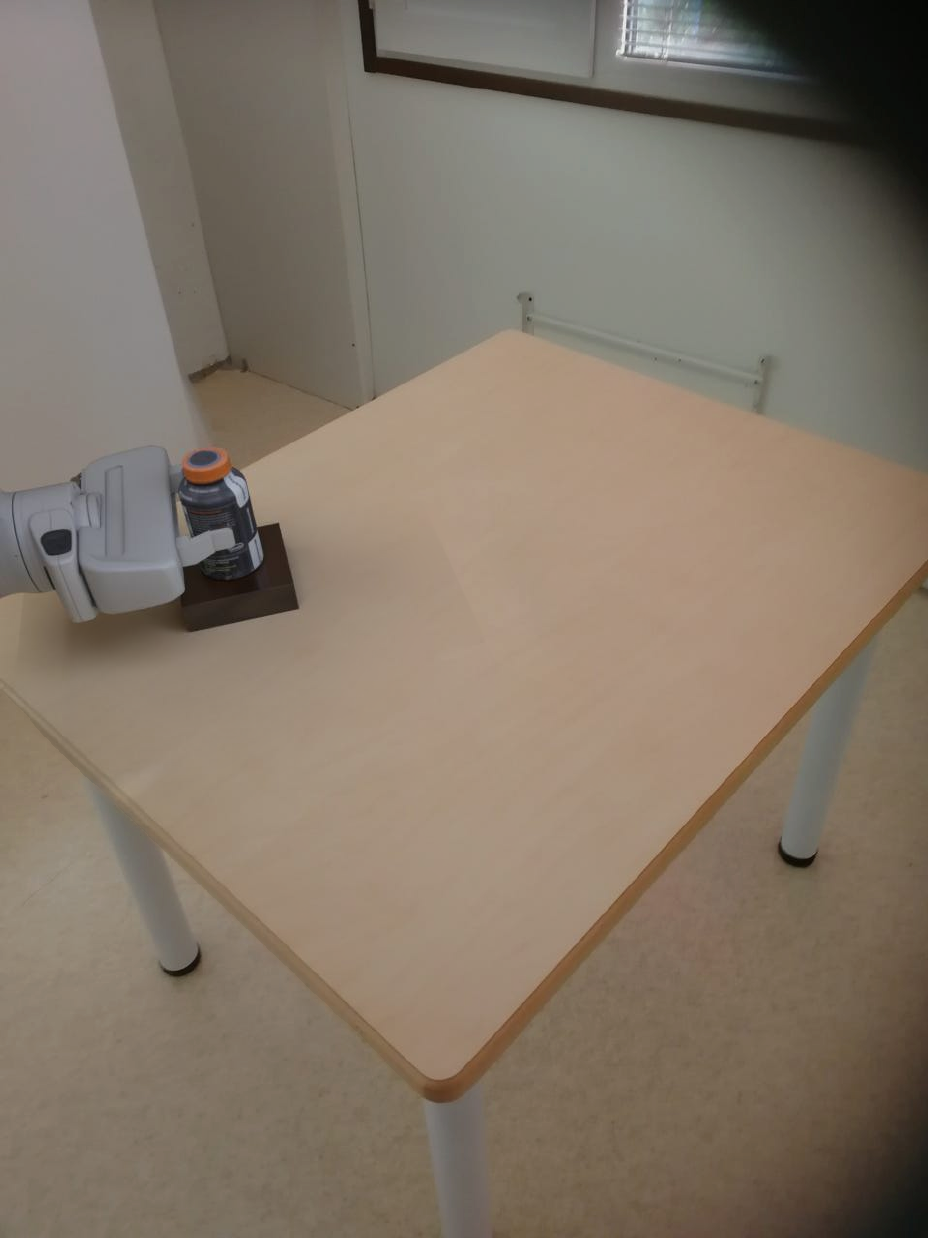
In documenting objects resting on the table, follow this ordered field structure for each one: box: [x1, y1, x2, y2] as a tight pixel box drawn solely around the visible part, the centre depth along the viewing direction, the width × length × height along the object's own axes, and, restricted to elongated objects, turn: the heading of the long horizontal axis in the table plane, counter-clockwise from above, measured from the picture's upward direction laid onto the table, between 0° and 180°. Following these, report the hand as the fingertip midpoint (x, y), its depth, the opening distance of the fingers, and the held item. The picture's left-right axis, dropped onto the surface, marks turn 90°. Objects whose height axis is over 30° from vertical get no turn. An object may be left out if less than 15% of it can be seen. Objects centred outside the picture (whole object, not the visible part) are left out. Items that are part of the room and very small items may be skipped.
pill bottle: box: [177, 446, 264, 580], centre depth 85 cm, size 6×6×11 cm
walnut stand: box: [179, 522, 300, 633], centre depth 90 cm, size 10×10×3 cm
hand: (228, 503), depth 85 cm, fingers open, 8 cm apart
